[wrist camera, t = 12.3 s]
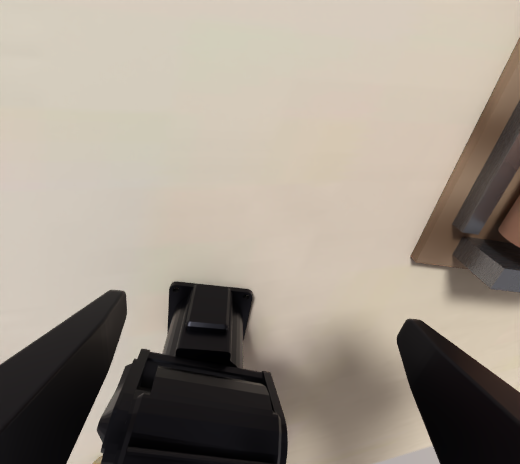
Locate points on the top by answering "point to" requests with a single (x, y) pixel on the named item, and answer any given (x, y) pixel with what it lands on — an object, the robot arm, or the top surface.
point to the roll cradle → (482, 194)
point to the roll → (512, 224)
